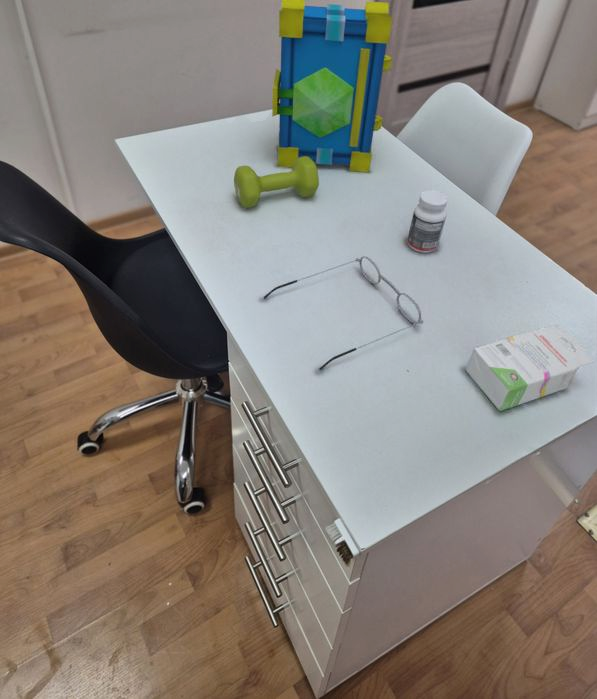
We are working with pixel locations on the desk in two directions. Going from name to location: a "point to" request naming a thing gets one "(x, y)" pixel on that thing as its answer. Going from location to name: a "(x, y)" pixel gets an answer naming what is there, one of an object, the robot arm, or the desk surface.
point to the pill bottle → (428, 222)
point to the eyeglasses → (373, 283)
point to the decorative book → (330, 82)
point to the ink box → (526, 366)
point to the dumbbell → (276, 181)
